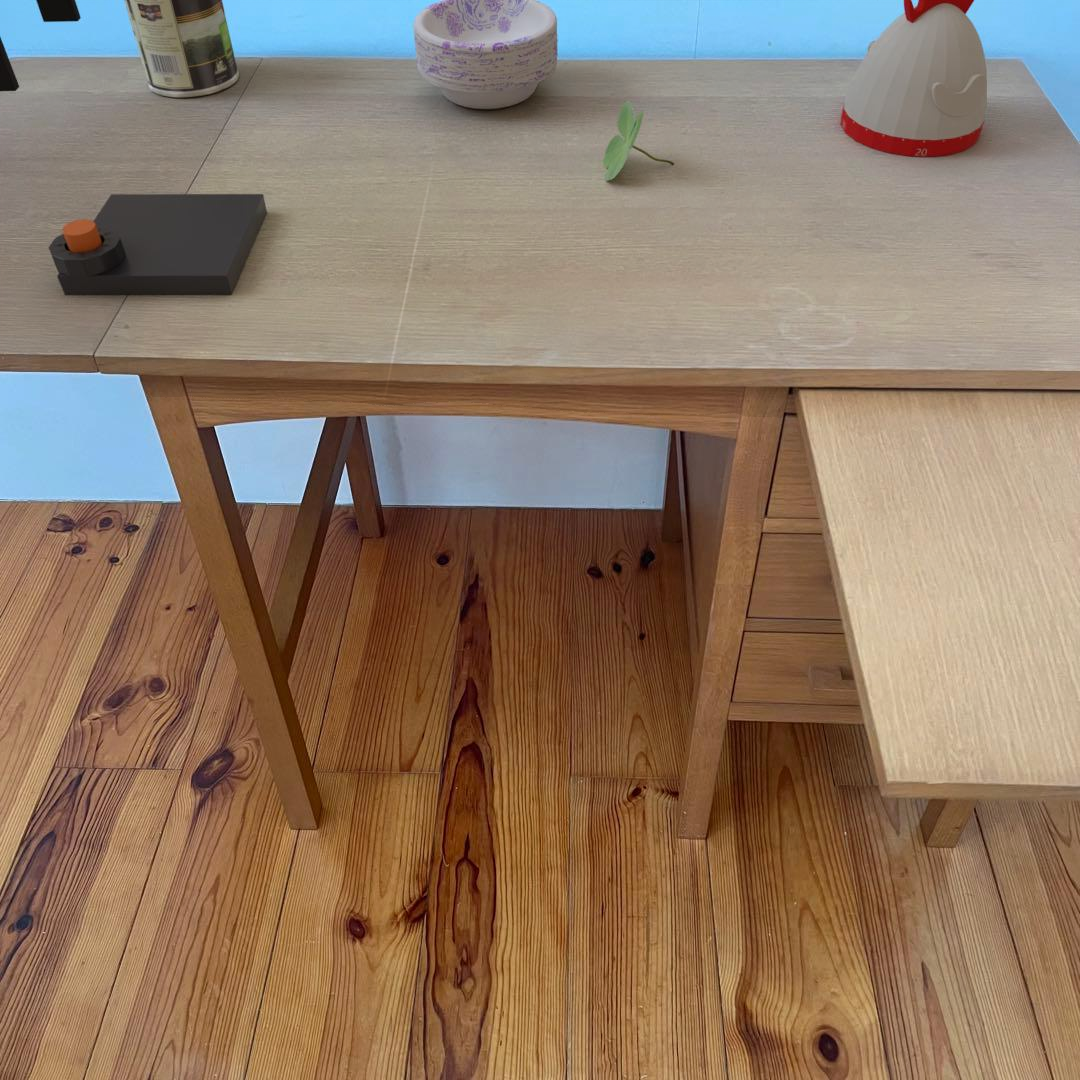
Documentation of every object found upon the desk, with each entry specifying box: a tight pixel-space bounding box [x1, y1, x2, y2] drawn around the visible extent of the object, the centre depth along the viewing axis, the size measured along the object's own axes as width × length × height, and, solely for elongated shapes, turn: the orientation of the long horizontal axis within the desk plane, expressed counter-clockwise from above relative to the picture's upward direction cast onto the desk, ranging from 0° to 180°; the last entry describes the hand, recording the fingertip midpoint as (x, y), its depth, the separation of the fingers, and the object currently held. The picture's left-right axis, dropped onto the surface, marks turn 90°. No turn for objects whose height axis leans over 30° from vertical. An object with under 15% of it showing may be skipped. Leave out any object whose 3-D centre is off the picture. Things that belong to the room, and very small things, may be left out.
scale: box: [48, 193, 268, 296], centre depth 87 cm, size 15×14×4 cm
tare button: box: [61, 218, 102, 253], centre depth 82 cm, size 3×3×2 cm
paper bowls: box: [412, 0, 559, 110], centre depth 108 cm, size 15×15×8 cm
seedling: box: [602, 101, 675, 182], centre depth 97 cm, size 7×8×7 cm
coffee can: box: [123, 0, 240, 99], centre depth 110 cm, size 10×10×14 cm
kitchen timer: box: [840, 0, 988, 158], centre depth 98 cm, size 14×14×15 cm
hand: (32, 53), depth 75 cm, fingers open, 13 cm apart
